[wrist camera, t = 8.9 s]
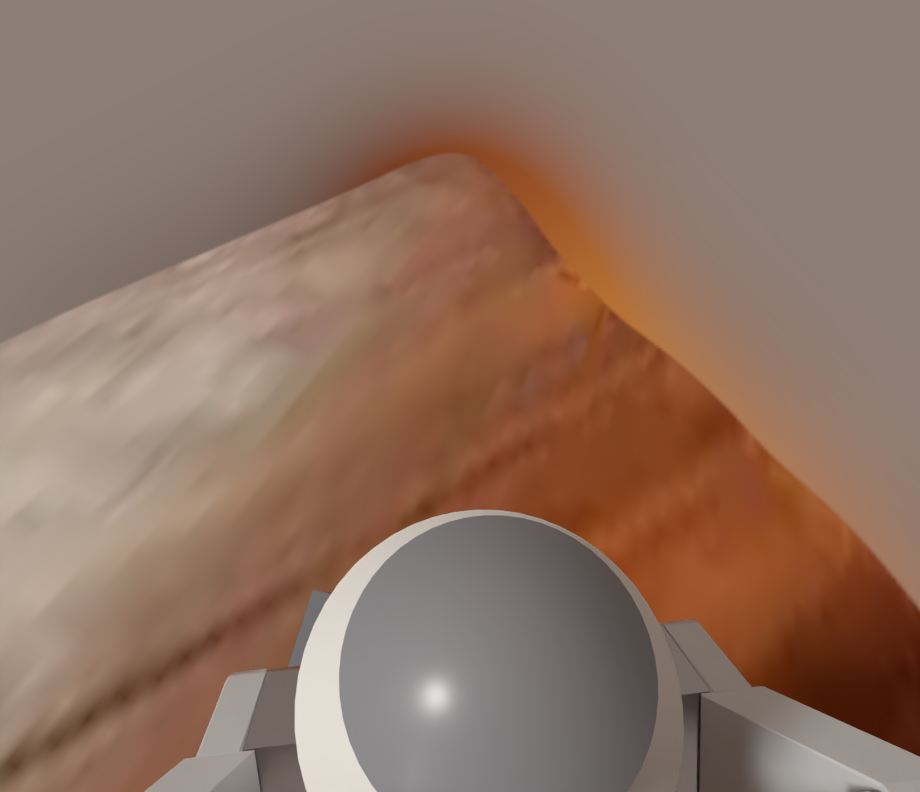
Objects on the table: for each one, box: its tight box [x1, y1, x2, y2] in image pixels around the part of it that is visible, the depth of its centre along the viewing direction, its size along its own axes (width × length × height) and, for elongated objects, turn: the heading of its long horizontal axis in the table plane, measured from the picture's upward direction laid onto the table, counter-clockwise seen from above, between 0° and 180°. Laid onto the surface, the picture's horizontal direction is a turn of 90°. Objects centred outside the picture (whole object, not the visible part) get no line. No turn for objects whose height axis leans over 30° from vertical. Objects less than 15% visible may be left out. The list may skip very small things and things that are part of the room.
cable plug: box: [295, 510, 684, 792], centre depth 9 cm, size 4×4×9 cm
